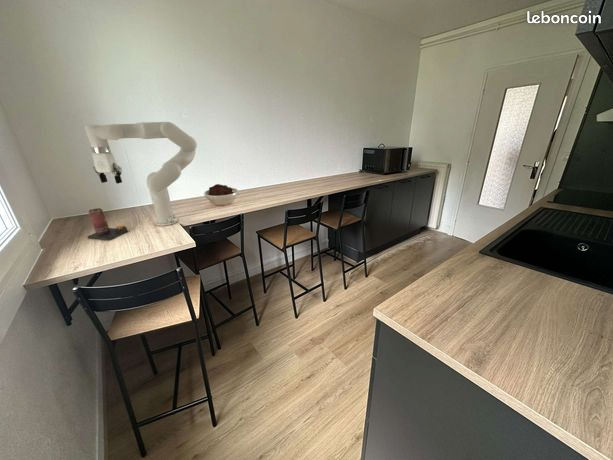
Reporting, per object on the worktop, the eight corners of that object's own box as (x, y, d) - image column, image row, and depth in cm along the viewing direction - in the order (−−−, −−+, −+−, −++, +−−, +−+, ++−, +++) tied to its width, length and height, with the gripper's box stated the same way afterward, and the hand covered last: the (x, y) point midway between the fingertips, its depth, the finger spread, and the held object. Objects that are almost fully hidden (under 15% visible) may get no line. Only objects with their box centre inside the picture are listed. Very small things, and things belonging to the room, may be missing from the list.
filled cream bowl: (238, 197, 210) (236, 179, 204) (240, 206, 188) (238, 186, 182) (206, 200, 203) (203, 181, 197) (205, 210, 181) (201, 189, 175)
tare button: (124, 228, 145) (123, 225, 145) (120, 229, 143) (119, 227, 142) (120, 227, 146) (119, 225, 145) (116, 229, 143) (116, 227, 143)
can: (100, 231, 144) (92, 208, 138) (112, 230, 145) (104, 207, 139) (93, 235, 139) (84, 211, 133) (105, 235, 139) (97, 211, 133)
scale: (130, 231, 147) (128, 226, 146) (110, 240, 136) (108, 235, 135) (109, 229, 150) (107, 224, 149) (88, 238, 139) (86, 233, 137)
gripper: (80, 150, 130) (92, 183, 137) (108, 151, 127) (119, 184, 134) (94, 149, 137) (105, 180, 144) (121, 149, 133) (130, 181, 140)
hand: (111, 182), depth 139 cm, fingers open, 9 cm apart
